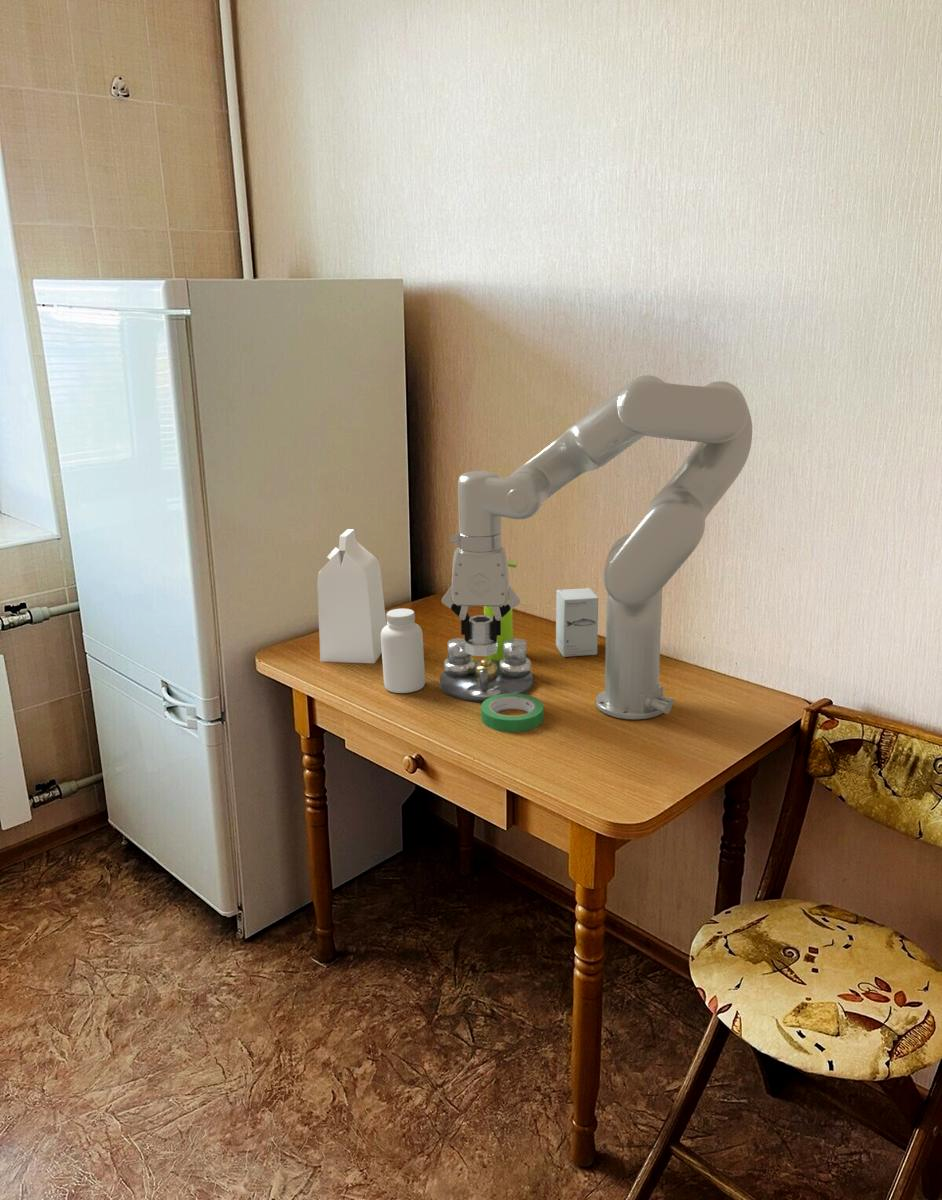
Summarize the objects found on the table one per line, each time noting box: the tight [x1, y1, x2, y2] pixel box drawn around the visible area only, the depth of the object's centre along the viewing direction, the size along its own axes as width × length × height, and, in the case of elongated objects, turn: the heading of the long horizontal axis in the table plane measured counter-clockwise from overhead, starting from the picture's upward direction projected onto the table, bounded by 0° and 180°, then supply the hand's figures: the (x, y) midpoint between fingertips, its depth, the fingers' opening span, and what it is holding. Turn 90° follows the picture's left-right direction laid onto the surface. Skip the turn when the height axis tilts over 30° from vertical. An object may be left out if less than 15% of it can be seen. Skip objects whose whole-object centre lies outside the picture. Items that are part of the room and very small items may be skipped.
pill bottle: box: [381, 608, 426, 694], centre depth 181 cm, size 8×8×15 cm
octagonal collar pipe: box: [465, 614, 497, 657], centre depth 174 cm, size 6×6×6 cm
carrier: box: [439, 637, 534, 703], centre depth 183 cm, size 18×18×7 cm
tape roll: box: [480, 693, 545, 733], centre depth 168 cm, size 11×11×3 cm
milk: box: [316, 528, 387, 664], centre depth 198 cm, size 12×12×26 cm
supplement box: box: [555, 587, 599, 658], centre depth 197 cm, size 7×7×13 cm
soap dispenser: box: [483, 560, 518, 660], centre depth 195 cm, size 6×7×20 cm
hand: (481, 637), depth 174 cm, fingers closed on octagonal collar pipe, 4 cm apart
